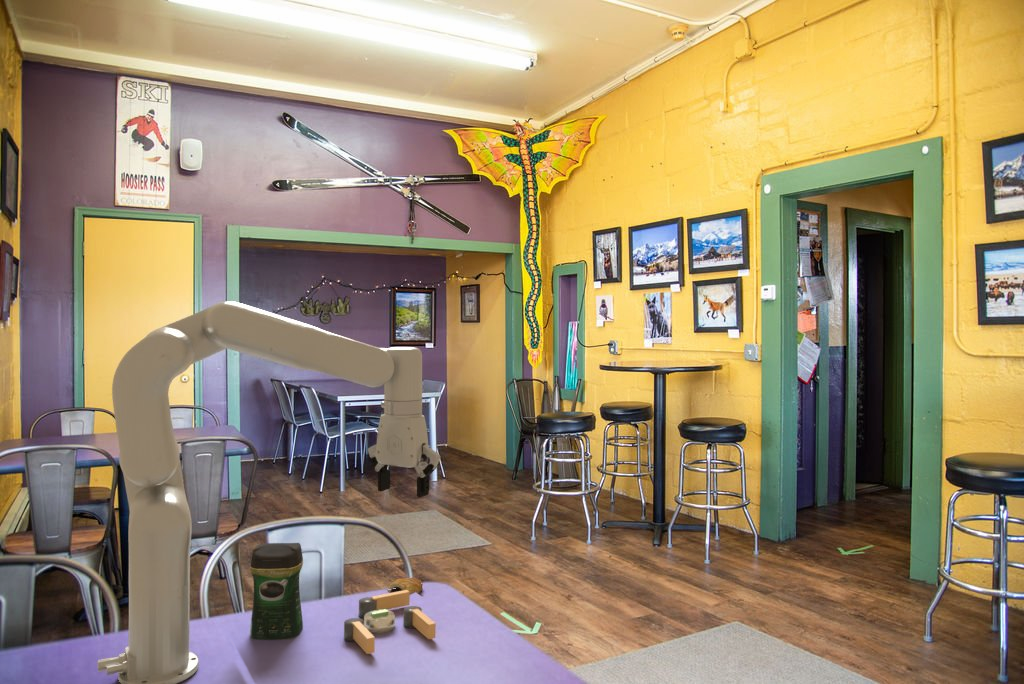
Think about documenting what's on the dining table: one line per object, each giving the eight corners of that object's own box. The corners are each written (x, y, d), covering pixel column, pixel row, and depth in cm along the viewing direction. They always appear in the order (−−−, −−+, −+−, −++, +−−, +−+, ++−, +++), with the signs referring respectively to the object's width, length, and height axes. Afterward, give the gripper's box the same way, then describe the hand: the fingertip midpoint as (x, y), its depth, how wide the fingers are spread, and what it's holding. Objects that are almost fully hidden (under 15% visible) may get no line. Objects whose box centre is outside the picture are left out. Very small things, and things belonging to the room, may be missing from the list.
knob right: (400, 622, 145) (400, 606, 145) (416, 619, 147) (417, 602, 146) (423, 643, 135) (423, 626, 135) (440, 639, 137) (440, 622, 137)
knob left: (341, 635, 138) (341, 618, 138) (359, 631, 140) (359, 614, 140) (361, 658, 129) (361, 640, 129) (380, 654, 131) (380, 635, 131)
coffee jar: (306, 629, 144) (307, 537, 144) (297, 647, 136) (298, 550, 136) (256, 630, 144) (257, 537, 143) (244, 648, 136) (246, 550, 135)
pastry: (404, 585, 170) (405, 569, 170) (430, 589, 168) (430, 573, 168) (383, 598, 162) (383, 582, 161) (409, 604, 159) (410, 586, 159)
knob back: (362, 619, 146) (362, 603, 146) (356, 613, 149) (356, 597, 149) (411, 609, 151) (411, 593, 151) (404, 603, 154) (404, 588, 154)
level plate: (350, 663, 130) (351, 638, 130) (320, 626, 146) (320, 604, 145) (440, 641, 140) (440, 618, 140) (403, 609, 155) (403, 588, 155)
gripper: (357, 407, 145) (357, 491, 146) (427, 413, 137) (427, 502, 138) (381, 403, 152) (381, 484, 152) (449, 409, 144) (449, 494, 144)
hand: (403, 492), depth 145 cm, fingers open, 9 cm apart
